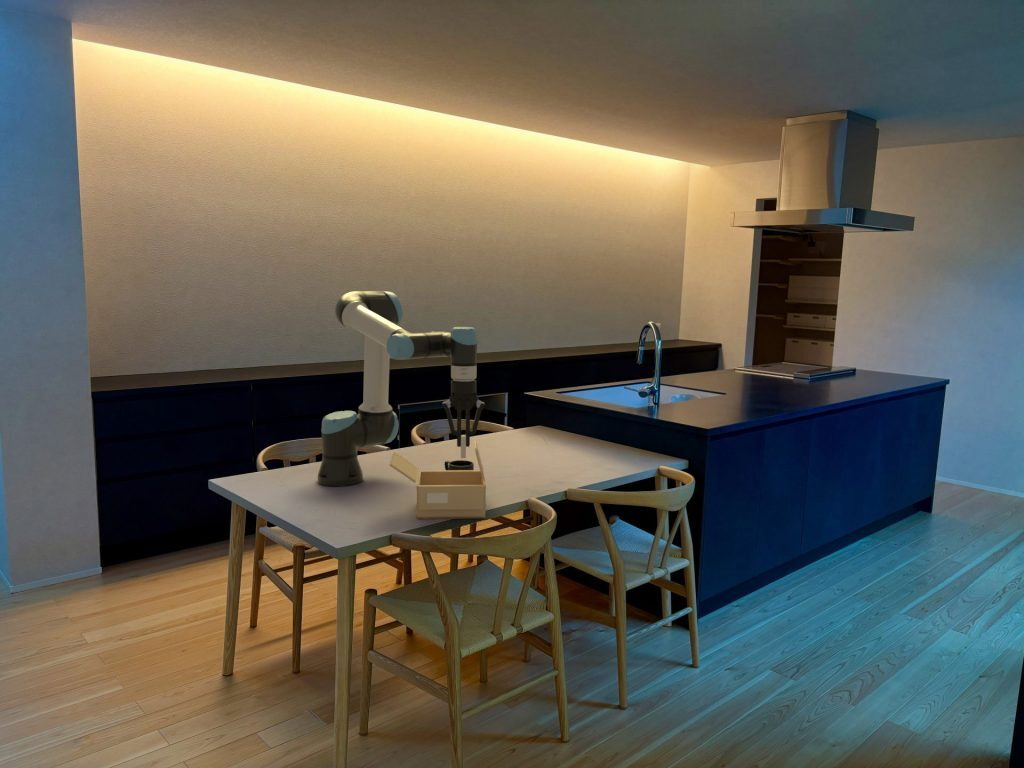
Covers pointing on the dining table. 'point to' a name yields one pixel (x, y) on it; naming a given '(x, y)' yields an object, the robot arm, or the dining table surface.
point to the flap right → (479, 460)
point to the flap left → (404, 467)
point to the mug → (459, 465)
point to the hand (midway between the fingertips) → (463, 457)
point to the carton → (450, 494)
